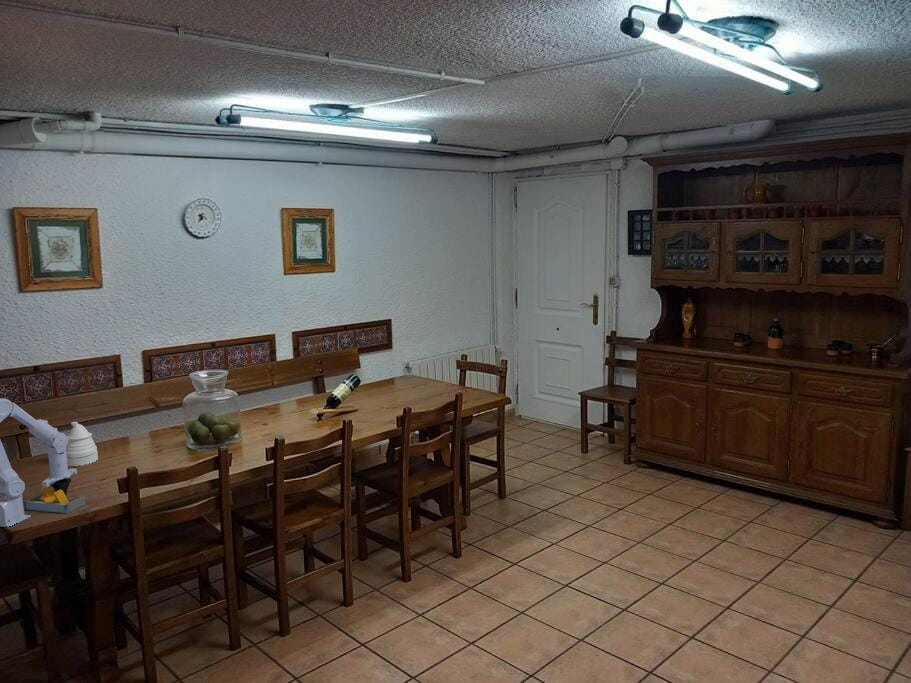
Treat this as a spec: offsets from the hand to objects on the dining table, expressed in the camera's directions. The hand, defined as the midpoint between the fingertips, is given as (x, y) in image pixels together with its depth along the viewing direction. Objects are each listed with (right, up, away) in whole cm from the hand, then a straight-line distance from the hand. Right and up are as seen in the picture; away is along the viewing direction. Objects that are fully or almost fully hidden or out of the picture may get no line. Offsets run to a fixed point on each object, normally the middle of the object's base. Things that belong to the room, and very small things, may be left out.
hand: (62, 498), depth 259 cm
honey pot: (-18, +6, +48) cm, 51 cm away
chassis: (-1, -2, -3) cm, 4 cm away
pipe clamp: (0, -2, -3) cm, 3 cm away
